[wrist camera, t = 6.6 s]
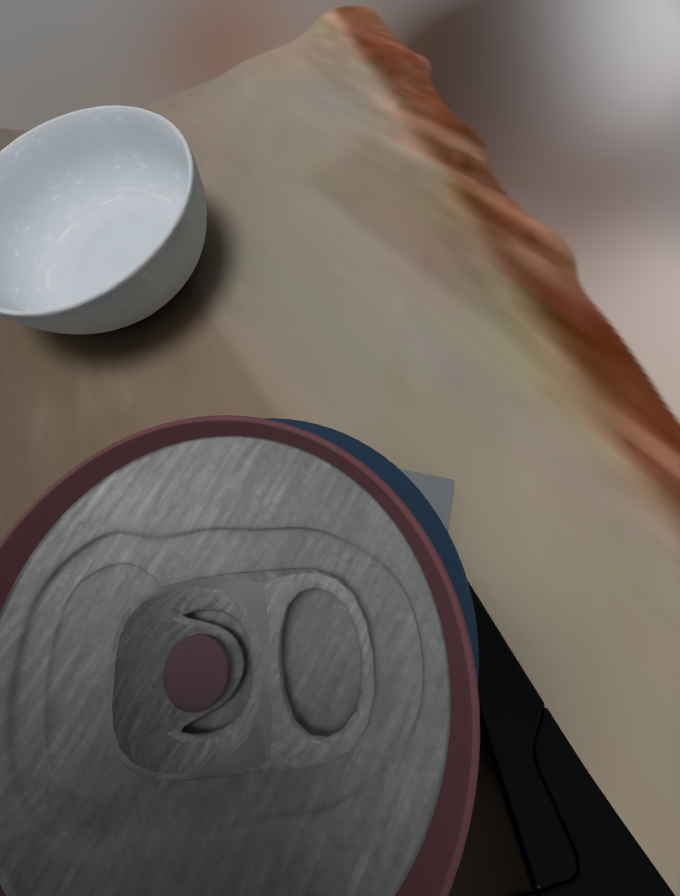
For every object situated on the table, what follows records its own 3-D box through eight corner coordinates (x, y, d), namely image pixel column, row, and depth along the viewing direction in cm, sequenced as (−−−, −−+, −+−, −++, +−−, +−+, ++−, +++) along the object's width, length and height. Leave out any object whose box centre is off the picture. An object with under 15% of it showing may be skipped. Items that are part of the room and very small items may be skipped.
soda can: (261, 645, 14) (-272, 1256, 2) (256, 495, 16) (-53, 406, 4) (411, 631, 13) (695, 1268, 2) (388, 479, 15) (463, 333, 4)
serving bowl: (10, 265, 32) (-85, 196, 25) (175, 161, 33) (126, 71, 27) (79, 407, 26) (-19, 367, 20) (273, 276, 28) (242, 198, 21)
